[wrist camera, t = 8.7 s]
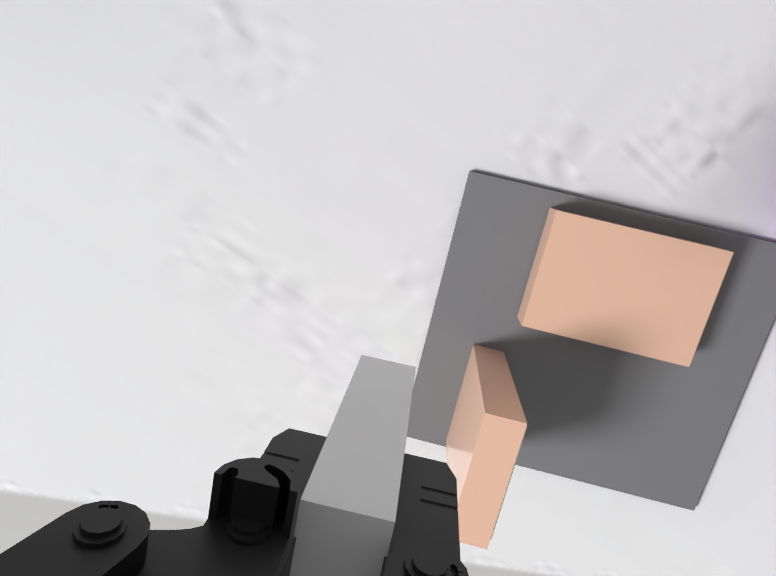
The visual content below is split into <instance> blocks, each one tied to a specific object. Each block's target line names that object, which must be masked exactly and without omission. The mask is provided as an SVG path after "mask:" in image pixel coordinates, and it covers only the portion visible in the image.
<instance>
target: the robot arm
mask: <svg viewBox="0 0 776 576" xmlns="http://www.w3.org/2000/svg"><path fill="white" fill-rule="evenodd" d="M415 369H416V367H413V366H408V365H404V364H399V363H395V362H390V361H386V360H381V359H377V358H372V357H368V356H364V355H362V356H361V358H360V361H359V363H358V365H357V368H356V370H355V372H354V375H353V377H352V379H351V382H350V384H349V386H348V389H347V391H346V393H345V396H344V398H343V401H342V403H341V405H340V408H339V410H338V412H337V415H336V417H335V419H334V422H333V424H332V426H331V429H330V431H329V433H328V436H327V437H324V436H320V435H316V434H311V433H307V432H303V431H298V430H294V429H290V428H289V429H287V430H286V431H284V432H282V433H280V434H279V435H277V436H275V437H273V439H272V440H271V442H270V443H269V445H268V447H267V448H266V450H265V452H264V454H263V455H262V456H261V458H246V459H237V460H234V461H232V462H229V463H226V464H224V465H223V466H221V467H220V468H219V469H218V470H217V471H216V472H214V479H213V486H212V493H211V501H210V508H209V515H208V519H207V521H206V522H205V524H204V525H203V526H200V527H196V528H192V529H183V530H150V522H149V519H148V517H147V514H146V513H145V512H144V511H143V510H141V509H140V508H138V507H137V506H136V505H133V504H129V503H126V502H122V501H99V502H94V503H89V504H85V505H82V506H80V507H77V508H75V509H73V510H71V511H69V512H67V513H65V514H63V515H62V516H60V517H58V518H57V519H55V520H54V521H52V522H51V523H49V524H47V525H46V526H44V527H43V528H41V529H39V530H38V531H36V532H35V533H33V534H32V535H30V536H28V537H27V538H25V539H23V540H22V541H20V542H19V543H17V544H16V545H14V546H13V547H11V548H9V549H7V550H6V551H4V552H3V553H1V554H0V576H469V575H468V572H467V569H466V567H465V566H464V565H463V564H462V562H461V561H460V543H459V521H458V511H457V510H458V498H457V478H456V477H455V475H454V474H453V472H452V471H451V469H450V468H449V466H448V464H447V463H444V462H440V461H435V460H431V459H427V458H423V457H418V456H414V455H410V454H405V453H404V452H405V445H406V437H407V429H408V422H409V414H410V407H411V399H412V392H413V384H414V377H415Z"/></svg>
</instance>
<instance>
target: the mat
mask: <svg viewBox="0 0 776 576" xmlns="http://www.w3.org/2000/svg"><path fill="white" fill-rule="evenodd" d="M550 208H554V209H558V210H562V211H567V212H571V213H575V214H579V215H583V216H588V217H592V218H596V219H600V220H605V221H609V222H613V223H617V224H621V225H626V226H630V227H634V228H638V229H643V230H647V231H651V232H655V233H659V234H664V235H668V236H672V237H676V238H681V239H685V240H689V241H693V242H697V243H702V244H706V245H710V246H714V247H718V248H721V249H725V250H728V251H731V252H734V253H733V255H732V258H731V261H730V263H729V266H728V268H727V271H726V273H725V276H724V279H723V281H722V284H721V286H720V289H719V291H718V294H717V297H716V299H715V302H714V304H713V307H712V310H711V312H710V315H709V317H708V320H707V322H706V325H705V328H704V330H703V333H702V335H701V338H700V340H699V343H698V346H697V348H696V351H695V353H694V356H693V358H692V361H691V364H690V366H689V367H687V366H682V365H678V364H674V363H670V362H666V361H662V360H658V359H654V358H650V357H646V356H642V355H638V354H634V353H630V352H626V351H622V350H618V349H614V348H610V347H606V346H601V345H597V344H593V343H589V342H585V341H581V340H577V339H573V338H569V337H565V336H561V335H557V334H553V333H549V332H545V331H541V330H537V329H533V328H529V327H525V326H522V325H521V323H520V321H519V319H518V317H517V316H518V312H519V309H520V306H521V302H522V299H523V295H524V292H525V289H526V285H527V282H528V279H529V275H530V272H531V269H532V265H533V262H534V259H535V255H536V252H537V249H538V245H539V242H540V239H541V235H542V232H543V229H544V225H545V222H546V219H547V215H548V212H549V209H550ZM775 317H776V243H773V242H769V241H765V240H761V239H756V238H752V237H748V236H744V235H739V234H735V233H731V232H727V231H722V230H718V229H714V228H710V227H705V226H701V225H697V224H693V223H688V222H684V221H680V220H676V219H671V218H667V217H663V216H659V215H654V214H650V213H646V212H642V211H637V210H633V209H629V208H625V207H620V206H616V205H612V204H608V203H604V202H599V201H595V200H591V199H587V198H582V197H578V196H574V195H570V194H565V193H561V192H557V191H553V190H548V189H544V188H540V187H536V186H531V185H527V184H523V183H519V182H514V181H510V180H506V179H502V178H497V177H493V176H489V175H485V174H480V173H476V172H472V171H469V175H468V179H467V183H466V187H465V191H464V195H463V198H462V202H461V206H460V210H459V214H458V218H457V222H456V225H455V229H454V233H453V237H452V241H451V245H450V249H449V252H448V256H447V260H446V264H445V268H444V272H443V276H442V279H441V283H440V287H439V291H438V295H437V299H436V303H435V306H434V310H433V314H432V318H431V322H430V326H429V330H428V333H427V337H426V341H425V345H424V349H423V353H422V357H421V360H420V364H419V368H418V372H417V376H416V380H415V384H414V387H413V392H412V399H411V407H410V414H409V422H408V429H407V437H411V438H415V439H419V440H422V441H426V442H430V443H434V444H438V445H442V446H446V439H447V436H448V432H449V428H450V425H451V421H452V418H453V414H454V411H455V407H456V404H457V400H458V397H459V393H460V389H461V386H462V382H463V379H464V375H465V372H466V368H467V365H468V361H469V358H470V354H471V350H472V347H473V344H475V345H479V346H483V347H487V348H491V349H495V350H499V351H503V352H504V354H505V357H506V360H507V363H508V366H509V369H510V373H511V376H512V379H513V382H514V385H515V388H516V391H517V394H518V397H519V400H520V403H521V406H522V409H523V412H524V415H525V418H526V421H527V429H526V432H525V435H524V438H523V441H522V444H521V448H520V451H519V454H518V457H517V460H516V463H515V465H519V466H523V467H527V468H531V469H535V470H539V471H543V472H546V473H550V474H554V475H558V476H562V477H566V478H570V479H574V480H577V481H581V482H585V483H589V484H593V485H597V486H601V487H605V488H608V489H612V490H616V491H620V492H624V493H628V494H632V495H636V496H639V497H643V498H647V499H651V500H655V501H659V502H663V503H667V504H670V505H674V506H678V507H682V508H686V509H690V510H695V507H696V505H697V502H698V500H699V498H700V495H701V493H702V490H703V488H704V486H705V483H706V481H707V479H708V476H709V474H710V471H711V469H712V467H713V464H714V462H715V459H716V457H717V455H718V452H719V450H720V448H721V445H722V443H723V440H724V438H725V436H726V433H727V431H728V429H729V426H730V424H731V421H732V419H733V417H734V414H735V412H736V409H737V407H738V405H739V402H740V400H741V398H742V395H743V393H744V390H745V388H746V386H747V383H748V381H749V378H750V376H751V374H752V371H753V369H754V367H755V364H756V362H757V359H758V357H759V355H760V352H761V350H762V348H763V345H764V343H765V340H766V338H767V336H768V333H769V331H770V328H771V326H772V324H773V321H774V319H775Z"/></svg>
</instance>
